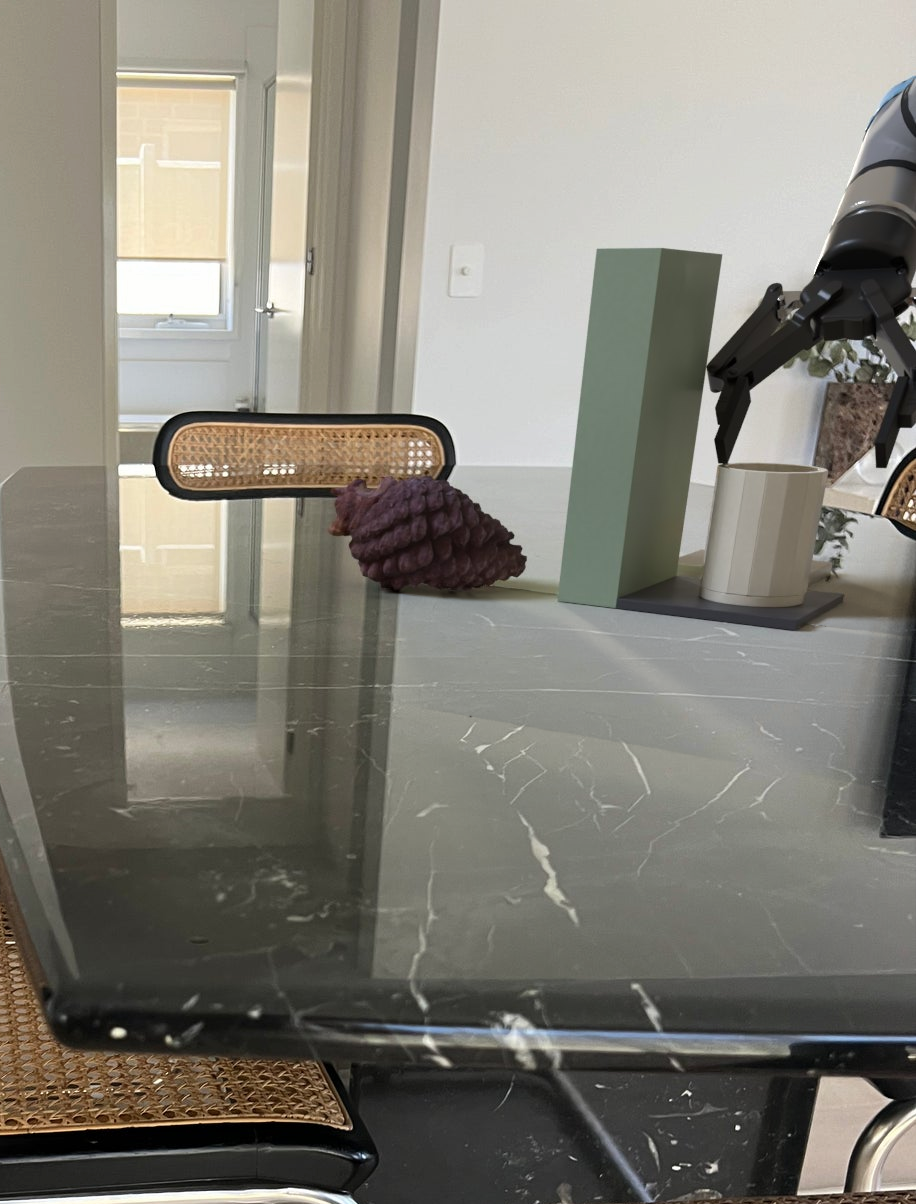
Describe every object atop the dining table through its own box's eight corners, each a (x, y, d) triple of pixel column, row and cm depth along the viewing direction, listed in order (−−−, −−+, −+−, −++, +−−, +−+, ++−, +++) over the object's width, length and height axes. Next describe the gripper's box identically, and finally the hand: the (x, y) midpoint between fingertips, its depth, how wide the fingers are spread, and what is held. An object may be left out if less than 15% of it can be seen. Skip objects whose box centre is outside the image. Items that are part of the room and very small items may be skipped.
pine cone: (519, 579, 129) (555, 487, 121) (493, 653, 123) (530, 562, 115) (329, 515, 130) (353, 420, 122) (296, 585, 125) (319, 491, 117)
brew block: (830, 575, 133) (836, 541, 132) (800, 590, 125) (806, 555, 124) (699, 562, 139) (704, 529, 138) (663, 575, 132) (667, 541, 131)
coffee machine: (842, 603, 120) (909, 252, 109) (795, 630, 110) (864, 245, 99) (620, 578, 130) (661, 254, 120) (557, 601, 120) (596, 248, 109)
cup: (815, 596, 118) (839, 467, 114) (787, 611, 112) (811, 475, 108) (717, 585, 123) (736, 460, 119) (685, 599, 117) (704, 467, 113)
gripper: (1034, 275, 117) (964, 492, 111) (733, 286, 129) (656, 481, 124) (1039, 196, 111) (965, 420, 105) (723, 215, 123) (641, 417, 117)
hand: (798, 453), depth 114 cm, fingers open, 11 cm apart
